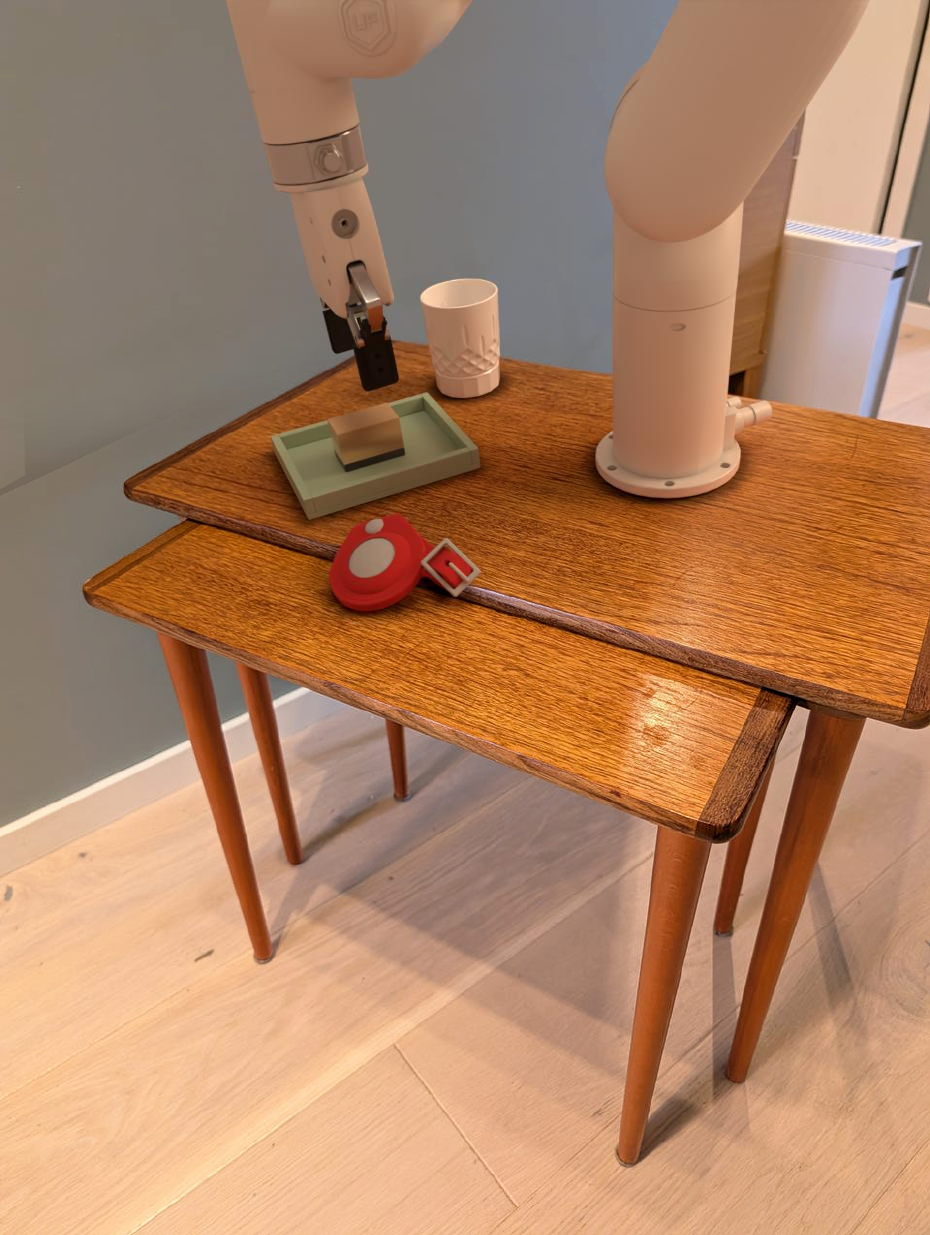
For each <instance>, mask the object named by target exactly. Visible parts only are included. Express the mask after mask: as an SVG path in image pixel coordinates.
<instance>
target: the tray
mask: <svg viewBox="0 0 930 1235" xmlns="http://www.w3.org/2000/svg"><path fill="white" fill-rule="evenodd" d="M387 403H388V404H389V405H390V407H391V408H392V409H393V410H394V412H395V413H396V414H397V415H398V417H399V419H400V425H401V431H402V437H403V443H404V449H405V455H404V456H400V457H397V458H393V459H390V460H387V461H383V462H380V463H376V464H373V465H370V466H366V467H363V468H359V469H356V470H353V471H349V472H345V470H344V469H343V467H342V466H341V464H340V462H339V461H338V459H337V457H336V456H335V451H334V447H333V443H332V438H331V434H330V429H329V425H328V420H323V421H320V422H316V423H312V424H308V425H305V426H301V427H297V428H295V429H291V430H288V431H283V432H281V433H276V434H272V435H270V441H271V444H272V448H273V451H274V454H275V457H276V459H277V461H278V462H279V465H280V466H281V467H280V468H282V471H283V472H284V474H285V477H286V478H287V480H288V482H289V484H290V486H291V488H292V490H293V492H294V494H295V496H296V497H297V500H298V502H299V504H300V506H301V508H302V510H303V512H304V514H305V516H306V518H307V520H308V521H311V520H314V519H317V518H320V517H323V516H327V515H331V514H333V513H337V512H340V511H343V510H346V509H350V508H353V507H357V506H361V505H363V504H366V503H369V502H372V501H377V500H379V499H383V498H386V497H389V496H393V495H396V494H399V493H402V492H405V491H410V490H413V489H416V488H419V487H422V486H425V485H429V484H431V483H435V482H438V481H441V480H445V479H448V478H451V477H454V476H455V477H456V476H458V475H461V474H465V473H468V472H471V471H475V470H478V469H481V460H480V451H479V447H478V446H477V445H476V444H475V443H474V441H473V440H472V439H470V437H469V436H468V435H467V434H466V433H465V432H464V431H463V430H462V429H461V428H460V426H459V425H458V424H457V423H456V422H455V421H454V420H453V419H452V417H450V415H449V414H448V413H447V411H445V410H444V408H443V407H441V405H440V404H439V403H438V402H437V401H436V400H435V399H434V398H433V397H432V396H431V395H430V393H429V392H427V391H426V392H423V393H419V394H415V395H412V396H409V397H404V398H401V399H398V400H394V401H391V402H387Z"/></svg>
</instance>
